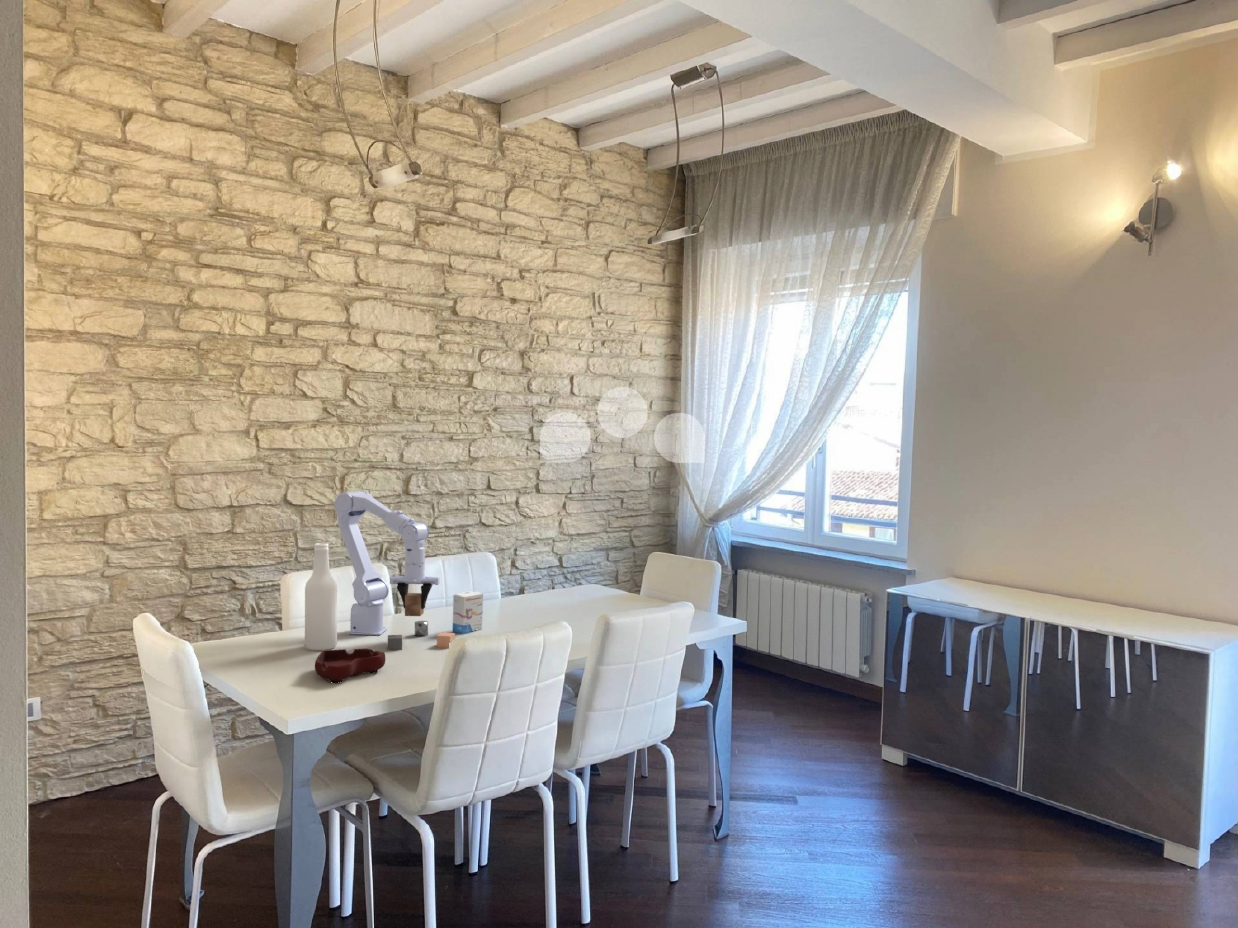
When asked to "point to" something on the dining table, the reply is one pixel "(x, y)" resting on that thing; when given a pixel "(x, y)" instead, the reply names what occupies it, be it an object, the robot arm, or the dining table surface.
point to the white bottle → (321, 603)
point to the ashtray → (347, 663)
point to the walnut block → (413, 604)
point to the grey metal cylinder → (421, 628)
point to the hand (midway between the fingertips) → (414, 607)
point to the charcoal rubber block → (394, 642)
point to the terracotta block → (445, 639)
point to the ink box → (467, 611)
